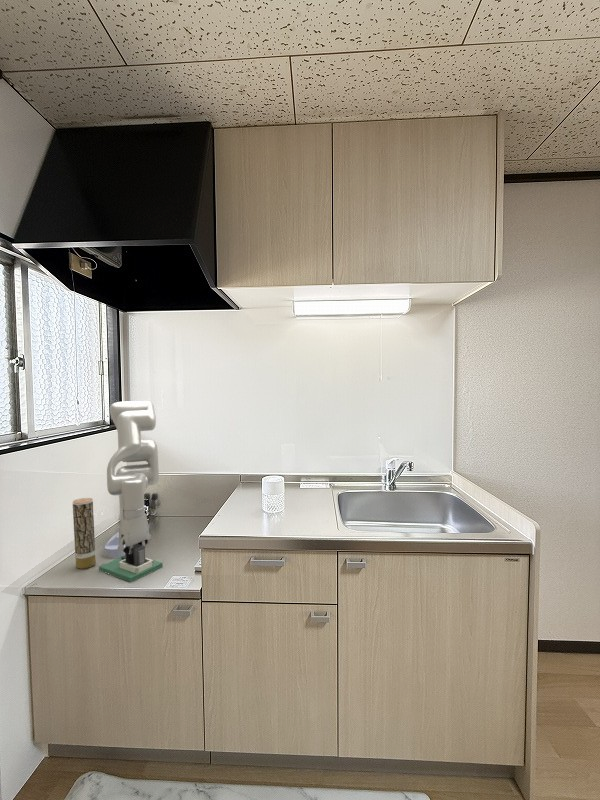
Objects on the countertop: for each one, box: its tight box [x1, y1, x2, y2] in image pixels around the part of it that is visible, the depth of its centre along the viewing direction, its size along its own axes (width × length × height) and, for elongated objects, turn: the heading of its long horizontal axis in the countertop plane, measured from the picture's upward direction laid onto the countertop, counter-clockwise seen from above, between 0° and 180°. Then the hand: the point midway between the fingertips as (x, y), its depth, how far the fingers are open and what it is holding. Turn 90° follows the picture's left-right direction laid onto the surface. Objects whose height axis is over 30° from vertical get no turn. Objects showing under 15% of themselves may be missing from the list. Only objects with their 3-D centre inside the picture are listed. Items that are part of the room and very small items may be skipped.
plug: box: [125, 543, 146, 566], centre depth 166 cm, size 7×4×6 cm, turn 58°
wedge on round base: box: [104, 531, 125, 559], centre depth 184 cm, size 9×7×13 cm
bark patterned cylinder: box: [72, 497, 97, 570], centre depth 170 cm, size 7×7×25 cm
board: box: [98, 555, 163, 583], centre depth 168 cm, size 18×14×4 cm
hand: (135, 560), depth 166 cm, fingers closed on plug, 4 cm apart
